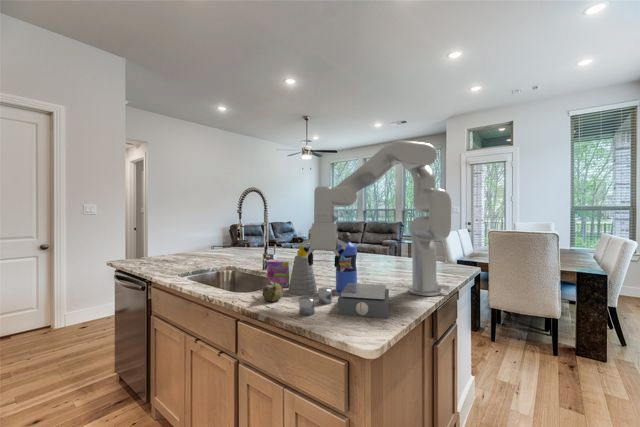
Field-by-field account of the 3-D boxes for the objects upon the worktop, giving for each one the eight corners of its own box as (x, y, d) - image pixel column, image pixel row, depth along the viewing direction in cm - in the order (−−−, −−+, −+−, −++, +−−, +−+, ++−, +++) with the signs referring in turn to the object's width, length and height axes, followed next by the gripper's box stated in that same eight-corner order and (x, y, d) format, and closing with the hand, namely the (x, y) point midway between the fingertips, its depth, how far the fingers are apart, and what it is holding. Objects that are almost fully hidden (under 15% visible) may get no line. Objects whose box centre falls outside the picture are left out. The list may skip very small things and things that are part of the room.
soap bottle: (313, 296, 116) (313, 245, 116) (284, 294, 118) (283, 244, 118) (320, 288, 128) (319, 242, 128) (293, 286, 130) (292, 241, 130)
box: (267, 287, 130) (266, 261, 130) (271, 284, 136) (271, 259, 136) (289, 288, 128) (288, 261, 128) (292, 284, 134) (292, 259, 134)
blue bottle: (356, 294, 117) (355, 233, 118) (333, 292, 120) (333, 232, 120) (358, 288, 127) (358, 231, 127) (337, 287, 129) (337, 231, 129)
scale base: (388, 302, 106) (388, 289, 106) (387, 318, 90) (387, 302, 90) (345, 299, 110) (345, 286, 110) (337, 314, 94) (337, 299, 94)
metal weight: (333, 301, 109) (332, 287, 109) (330, 305, 104) (330, 291, 104) (320, 300, 110) (320, 287, 110) (316, 304, 105) (316, 290, 105)
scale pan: (385, 288, 105) (385, 285, 105) (384, 299, 92) (384, 295, 92) (348, 286, 109) (348, 282, 109) (341, 296, 95) (341, 292, 95)
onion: (286, 301, 109) (286, 280, 109) (266, 304, 105) (265, 282, 105) (279, 296, 115) (279, 276, 115) (260, 299, 112) (259, 278, 112)
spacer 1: (316, 311, 97) (316, 296, 97) (312, 317, 92) (311, 301, 92) (302, 310, 98) (302, 296, 98) (297, 315, 93) (297, 300, 93)
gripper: (348, 220, 108) (348, 265, 108) (305, 219, 113) (304, 263, 113) (345, 220, 101) (344, 269, 101) (298, 219, 106) (298, 266, 105)
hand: (323, 265), depth 107 cm, fingers open, 9 cm apart
